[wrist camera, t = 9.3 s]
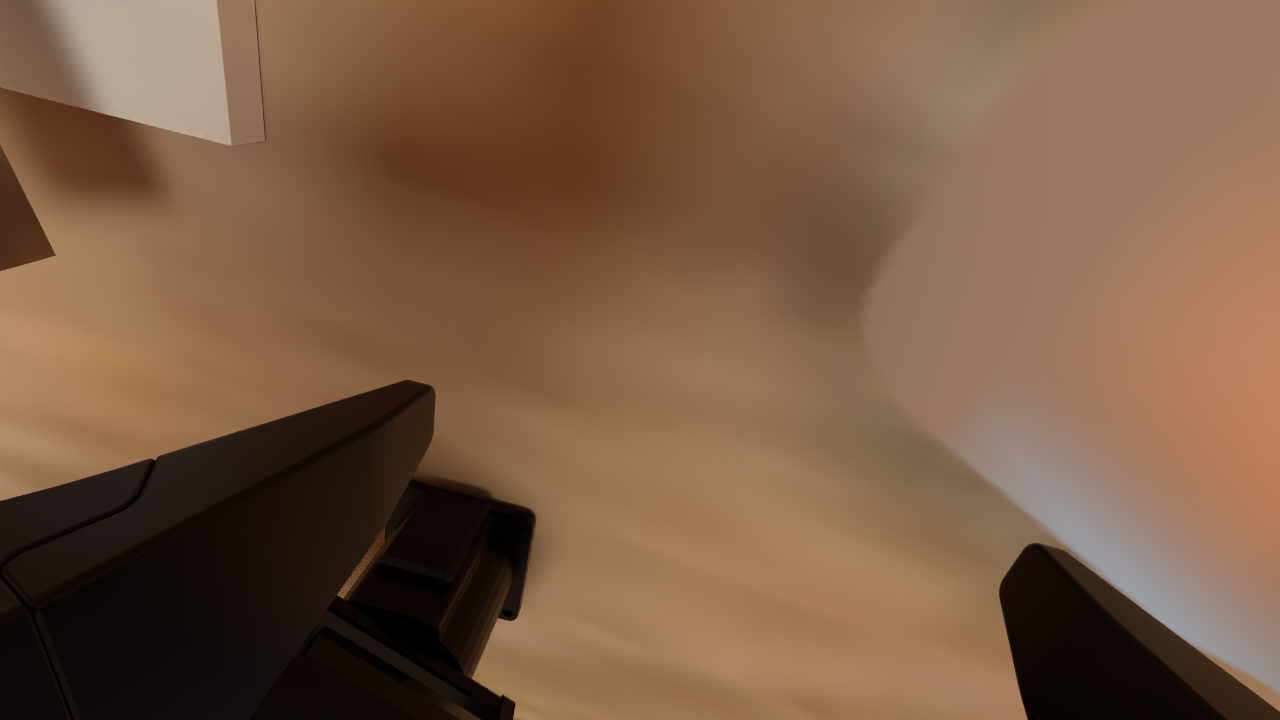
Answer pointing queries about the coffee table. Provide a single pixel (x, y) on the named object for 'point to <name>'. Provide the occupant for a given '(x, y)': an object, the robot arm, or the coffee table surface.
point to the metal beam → (18, 223)
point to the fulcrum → (141, 61)
